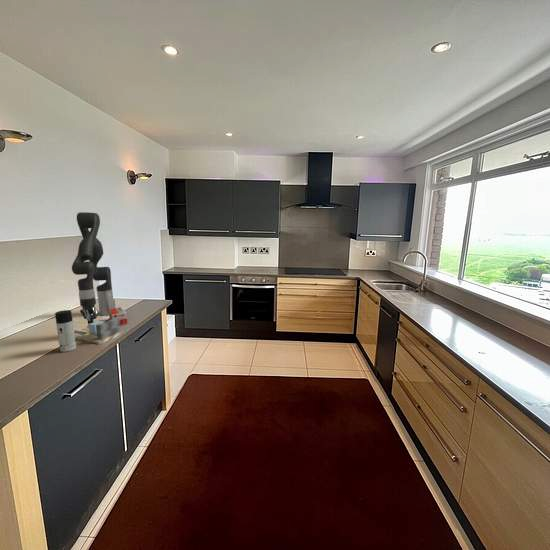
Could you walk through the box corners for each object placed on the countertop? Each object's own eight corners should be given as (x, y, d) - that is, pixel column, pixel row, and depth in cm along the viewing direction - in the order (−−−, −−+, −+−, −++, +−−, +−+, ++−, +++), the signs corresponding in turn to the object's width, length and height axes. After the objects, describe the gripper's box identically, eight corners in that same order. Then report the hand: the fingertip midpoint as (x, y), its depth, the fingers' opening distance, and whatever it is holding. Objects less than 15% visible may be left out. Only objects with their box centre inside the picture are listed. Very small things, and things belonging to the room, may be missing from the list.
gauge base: (93, 327, 177) (91, 312, 176) (124, 333, 168) (123, 317, 166) (66, 337, 163) (64, 321, 161) (99, 344, 153) (96, 327, 152)
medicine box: (127, 324, 183) (126, 312, 182) (113, 327, 178) (112, 314, 177) (123, 317, 195) (121, 306, 193) (109, 320, 190) (107, 308, 189)
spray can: (62, 347, 149) (56, 310, 145) (77, 345, 152) (72, 309, 148) (58, 353, 143) (52, 314, 139) (75, 350, 146) (69, 312, 142)
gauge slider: (99, 330, 168) (98, 320, 167) (107, 332, 166) (106, 322, 165) (82, 337, 159) (80, 326, 158) (90, 338, 156) (89, 328, 155)
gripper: (101, 296, 163) (105, 325, 166) (85, 294, 168) (89, 322, 171) (89, 299, 156) (92, 330, 159) (72, 297, 161) (76, 326, 164)
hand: (91, 326), depth 165 cm, fingers closed
